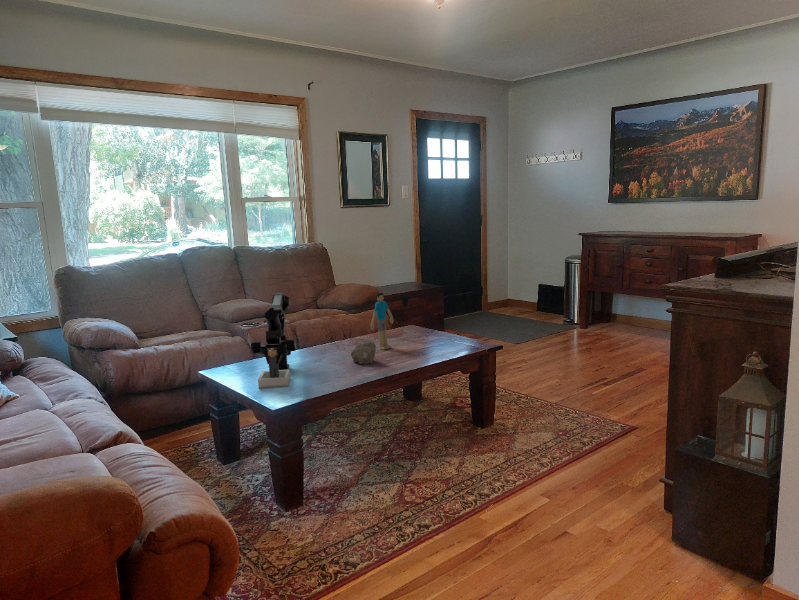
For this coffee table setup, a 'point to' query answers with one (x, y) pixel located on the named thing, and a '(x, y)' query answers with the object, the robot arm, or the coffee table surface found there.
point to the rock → (364, 353)
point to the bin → (274, 379)
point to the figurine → (381, 320)
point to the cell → (273, 363)
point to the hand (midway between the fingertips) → (272, 363)
